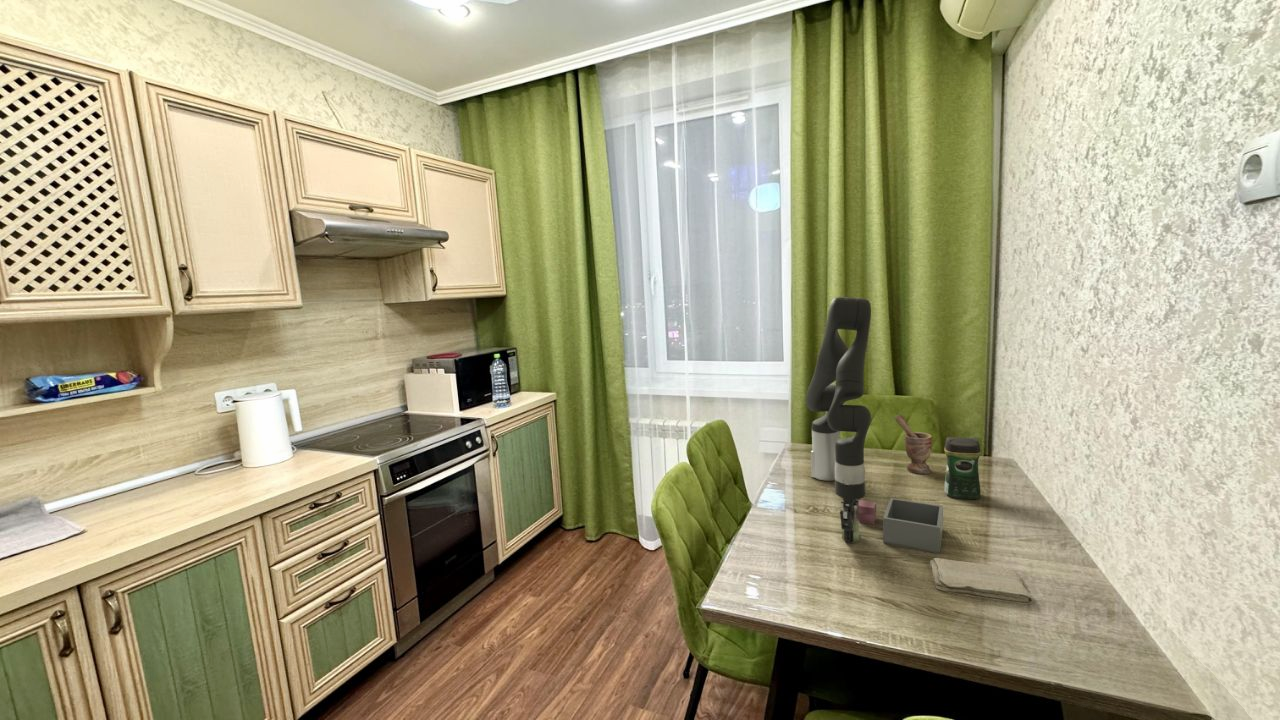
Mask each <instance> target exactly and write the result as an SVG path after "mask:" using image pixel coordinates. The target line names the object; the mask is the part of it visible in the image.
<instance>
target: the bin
mask: <svg viewBox="0 0 1280 720" xmlns="http://www.w3.org/2000/svg"><path fill="white" fill-rule="evenodd" d="M882 519H883V520H882V524H883V525H882V526H883V527H882V531H883V532H882V533H883V535H882V536H883V537H882V539H883V541H882V543H883V544H887V545H892V546H897V547H903V548H908V549H913V550H919V551H924V552H928V553H932V554H933V553H934V554H939V555H940V554H941V547H942V540H943V539H942V538H943V532H944V531H943V530H944V527H943V526H944V525H943V524H944V523H943V522H944V505H942V504H941V505H940V504H935V503H934V504H933V503H927V502H922V501H913V500H907V499H901V498H895V497H890V498H889V501H888V504H887V506H886V509H885V511H884V515H883V518H882Z"/></svg>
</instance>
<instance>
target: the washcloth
mask: <svg viewBox="0 0 1280 720" xmlns="http://www.w3.org/2000/svg"><path fill="white" fill-rule="evenodd" d="M929 563H930V565H931V572H932V576H933V580H934V584H935V587H936V590H939V591H943V592H945V593H949V594H954V595H955V594H956V595H959V596H967V597H972V598H973V597H974V598H980V599H984V600H993V601H1000V602H1007V603H1013V604H1020V605H1031V604H1033V602H1034V598H1033V597H1032V595H1031V593H1030V592H1029V590H1028V589H1027V588H1026V587H1025V585H1024V582H1023V579H1022V577H1021V576H1020V575H1019V573H1018V571H1017V570H1015V569H1014V568H1011V567H1010V568H1009V567H1003V566H995V565H990V564H983V563H979V562H978V563H977V562H971V561H968V562H967V561H962V560H954V559H953V560H952V559H946V558H939V557H934V558H933V559H931V560H930V561H929Z"/></svg>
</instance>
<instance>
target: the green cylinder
mask: <svg viewBox="0 0 1280 720" xmlns="http://www.w3.org/2000/svg"><path fill="white" fill-rule="evenodd" d="M848 525H849V524H848ZM841 539H842V540H843V541H845V540H844V529H842V528H841ZM858 542H860V522H859V521H858V520H857V519H856V520H855V521H854V529H853V542H852V543H858Z"/></svg>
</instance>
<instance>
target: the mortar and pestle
mask: <svg viewBox="0 0 1280 720" xmlns="http://www.w3.org/2000/svg"><path fill="white" fill-rule="evenodd" d="M894 420H895V422H896V423H897V424H898V425H899V426H900V428H902V429H903V431H904V448H905V452H906V455H907V457H908V458H909V459H910V460H911V461H910V463H908V465H907V466H906V470H907V471H908V472H909V473H913V474H921V475H923V474H930V473H931V469H930V466H929V465H928V463H926V461H928V459H930V456H931V455H932V450H933V448H932V447H933V443H932V442H933V441H932V440H933V436H932V435H931V434H930V433H927V432H920V431H913V430H912V428H911V427H910V426H909V424H908V422H907V420H906V419H905V417H904V416H903V415H902V414H897V415H895V416H894Z"/></svg>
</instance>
